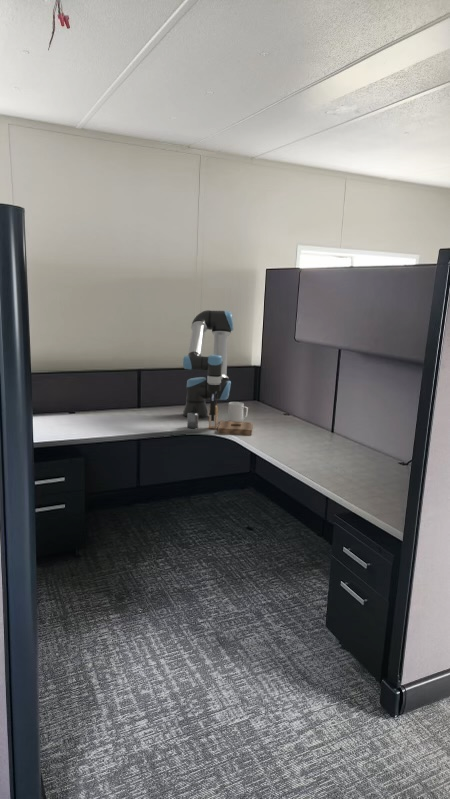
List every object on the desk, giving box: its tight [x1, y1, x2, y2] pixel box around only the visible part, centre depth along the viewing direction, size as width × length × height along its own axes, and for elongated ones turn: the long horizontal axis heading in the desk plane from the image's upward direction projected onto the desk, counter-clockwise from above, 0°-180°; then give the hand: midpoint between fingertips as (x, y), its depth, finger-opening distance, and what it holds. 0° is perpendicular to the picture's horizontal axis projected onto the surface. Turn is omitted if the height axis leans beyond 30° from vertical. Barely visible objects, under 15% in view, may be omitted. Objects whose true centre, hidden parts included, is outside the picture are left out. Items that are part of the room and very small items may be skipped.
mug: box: [227, 401, 249, 422], centre depth 317 cm, size 12×9×11 cm
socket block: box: [217, 420, 254, 436], centre depth 297 cm, size 18×18×3 cm
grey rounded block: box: [186, 413, 199, 430], centre depth 300 cm, size 6×6×8 cm
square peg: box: [208, 405, 218, 429], centre depth 299 cm, size 4×4×12 cm
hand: (212, 425), depth 300 cm, fingers closed on square peg, 4 cm apart
